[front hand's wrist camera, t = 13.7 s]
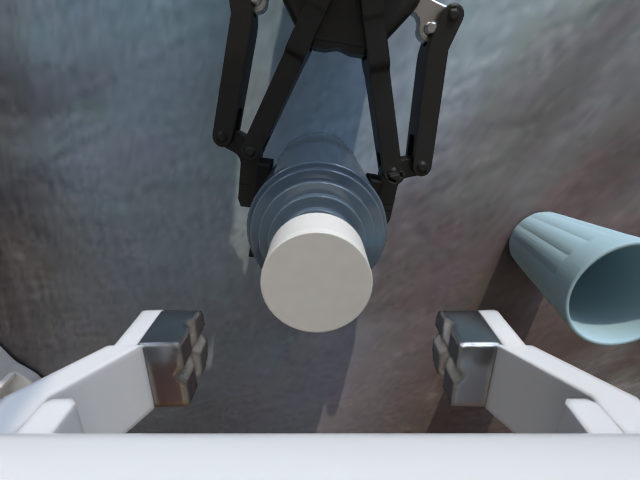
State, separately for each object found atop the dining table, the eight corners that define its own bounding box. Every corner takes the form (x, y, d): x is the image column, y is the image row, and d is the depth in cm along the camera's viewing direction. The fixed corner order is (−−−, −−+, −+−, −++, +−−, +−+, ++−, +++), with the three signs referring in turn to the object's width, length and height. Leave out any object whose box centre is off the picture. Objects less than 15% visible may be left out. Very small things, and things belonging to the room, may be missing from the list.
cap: (251, 233, 15) (240, 257, 13) (344, 196, 14) (349, 214, 12) (292, 313, 16) (288, 346, 14) (378, 281, 16) (388, 311, 13)
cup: (487, 276, 36) (552, 344, 26) (506, 197, 33) (586, 238, 23) (566, 280, 36) (660, 348, 26) (591, 201, 33) (706, 244, 23)
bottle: (265, 151, 32) (185, 231, 13) (340, 119, 31) (374, 153, 12) (297, 222, 34) (270, 380, 15) (368, 193, 33) (434, 324, 14)
